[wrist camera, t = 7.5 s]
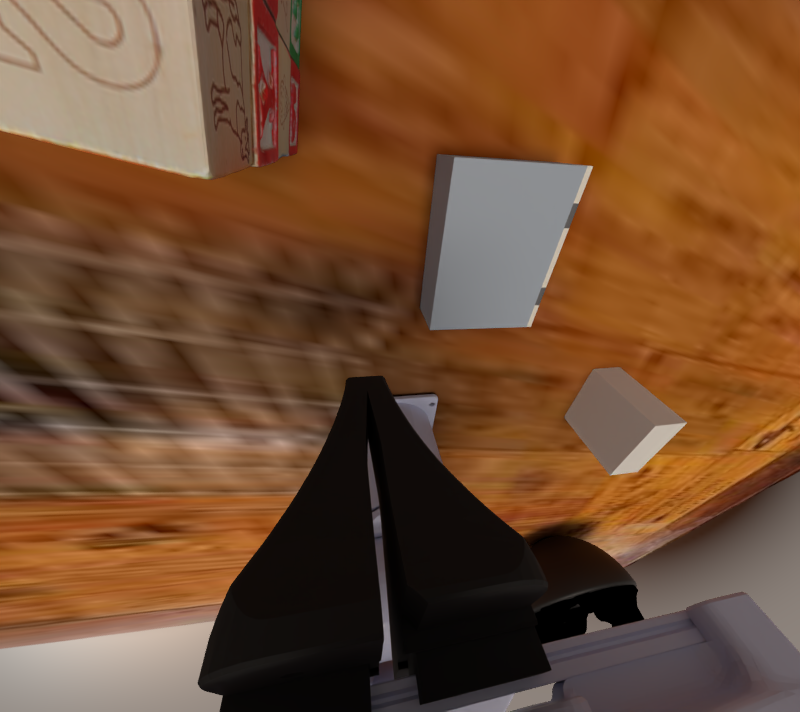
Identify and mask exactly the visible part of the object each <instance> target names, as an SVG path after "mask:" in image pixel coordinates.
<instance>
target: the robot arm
mask: <svg viewBox="0 0 800 712" xmlns="http://www.w3.org/2000/svg"><path fill="white" fill-rule="evenodd" d="M437 402H438V397H437V395H435V394H426V395H412V396H398V397H393V395H392V393H391V391H390V389H389V387H388V385H387V383H386V380H385V378H384V377H383V376H368V377H352V378H348V379H347V380H346V385H345V391H344V395H343V398H342V402H341V405H340V408H339V411H338V413H337V416H336V419H335V421H334V424H333V426H332V429H331V431H330V433H329V435H328V438H327V440H326V442H325V444H324V446H323V448H322V450H321V452H320V454H319V456H318V458H317V460H316V462H315V464H314V466H313V468H312V469H311V471H310V473H309V475H308V476H307V478H306V480H305V481H304V483H303V485H302V486H301V488H300V490H299V491H298V493H297V495H296V496H295V498H294V499H293V501H292V502H291V504H290V505H289V507H288V508H287V510H286V511H285V513H284V514H283V516H282V517H281V519H280V520H279V521H278V523H277V524H276V526H275V527H274V529H273V530H272V532H271V533H270V534H269V536H268V537H267V539H266V540H265V541H264V543H263V544H262V545H261V547H260V548H259V549H258V551H257V552H256V553H255V554H254V556H253V557H252V558H251V560H250V561H249V562H248V563H247V565H246V566H245V567H244V569H243V570H242V571H241V573H240V574H239V575H238V576H237V578H236V579H235V580H234V582H233V583H232V584H231V586H230V588H229V590H228V592H227V594H226V597H225V599H224V601H223V603H222V606H221V608H220V610H219V613H218V615H217V618H216V621H215V623H214V626H213V629H212V632H211V635H210V638H209V641H208V645H207V649H206V653H205V657H204V660H203V665H202V668H201V672H200V676H199V680H198V685H199V687H200V688H201V689H202V690H204V691H207V692H212V693H215V694H219V695H223V698H222V703H221V708H220V712H505V711H506V709H507V707H508V706H509V704H510V702H511V700H512V698H513V696H514V694H515V693H517V692H521V691H525V690H529V689H532V688H536V687H540V686H544V685H548V684H551V683H555V682H556V683H555V684H554V686H553V689H552V690H553V691H552V693H553V695H552V699H551V701H548V702H544V703H540V704H535V705H531V706H528V707H524V708H520V709H517V710H514V711H510V712H800V653H799V651H798V650H797V649H796V648H795V647H794V646H793V644H792V643H791V642H790V641H789V640H788V639H787V638H786V637H785V636H784V634H783V633H782V632H781V631H780V630H779V629H778V628H777V627H776V625H775V624H774V623H773V622H772V621H771V620H770V619H769V618H768V616H767V615H766V614H765V613H764V612H763V611H762V610H761V609H760V607H759V606H758V605H757V604H756V603H755V602H754V601H753V600H752V598H751V597H750V596H749V595H748V594H746V593H744V592H739V593H734V594H730V595H726V596H722V597H717V598H714V599H709V600H706V601H703V602H700V603H697V604H694V605H692V606H689V607H687V608H686V610H683V611H679V612H675V613H670V614H667V615H662V616H658V617H654V618H649V619H645V620H641V621H637V622H633V623H629V624H624V625H620V626H616V627H612V628H608V629H604V630H599V631H595V632H591V633H587V634H583V635H578V636H574V637H570V638H566V639H562V640H557V641H553V642H549V643H545V644H541V641H540V639H539V636H538V634H537V631H536V628H535V626H536V625H538V622H537V618H536V616H535V613H534V611H533V608H532V606H531V604H533V603H534V602H535V601H536V600H538V599H539V598H540V597H541V596H543V595H544V594H545V592H546V591H547V589H548V581H547V579H546V577H545V575H544V573H543V571H542V568H541V566H540V564H539V562H538V561H537V559H536V557H535V556H534V554H533V552H532V550H531V549H530V547H529V545H528V544H527V542H526V540H525V539H524V538H523V537H522V536H521V535H520V534H519V533H517V532H516V531H515V530H514V529H512V528H511V527H510V526H509V525H507V524H506V523H505V522H504V521H502V520H501V519H500V518H499V517H498V516H497V515H495V514H494V513H493V512H492V511H491V510H489V509H488V508H487V507H486V506H485V505H484V504H483V503H482V502H480V501H479V500H478V499H477V498H476V497H475V496H474V495H473V494H472V493H471V492H470V491H469V490H468V489H467V488H466V487H465V486H464V485H463V484H462V483H460V482H459V481H458V480H457V479H456V478H455V477H454V476H453V475H452V474H451V473H450V472H449V471H448V469H447V468H446V467H445V466H444V465H443V463H442V460H441V457H440V454H439V450H438V447H437V444H436V441H435V438H434V434H433V431H432V427H433V422H434V417H435V412H436V407H437Z"/></svg>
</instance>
